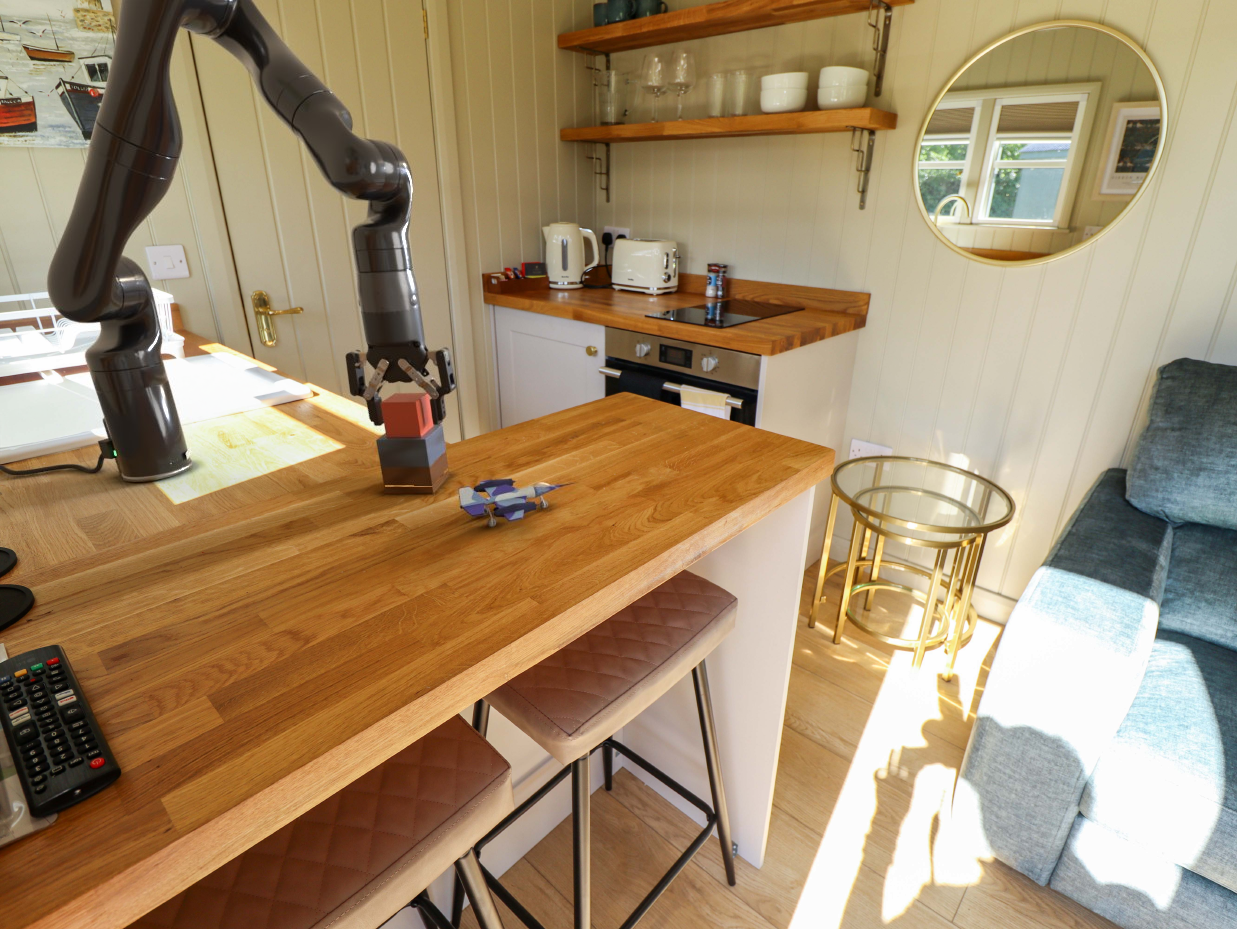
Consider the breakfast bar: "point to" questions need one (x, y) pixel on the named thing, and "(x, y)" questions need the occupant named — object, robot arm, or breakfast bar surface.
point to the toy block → (407, 415)
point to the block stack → (413, 462)
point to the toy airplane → (503, 499)
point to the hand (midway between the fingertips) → (408, 423)
